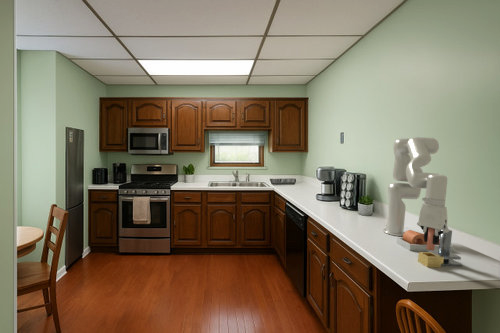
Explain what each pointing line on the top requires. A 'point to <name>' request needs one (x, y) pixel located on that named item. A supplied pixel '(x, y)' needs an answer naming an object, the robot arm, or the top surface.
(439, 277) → the top surface
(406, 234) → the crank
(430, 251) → the yellow and grey fixture
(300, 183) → the top surface
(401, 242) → the pipe rack
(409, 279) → the top surface
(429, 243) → the pin
